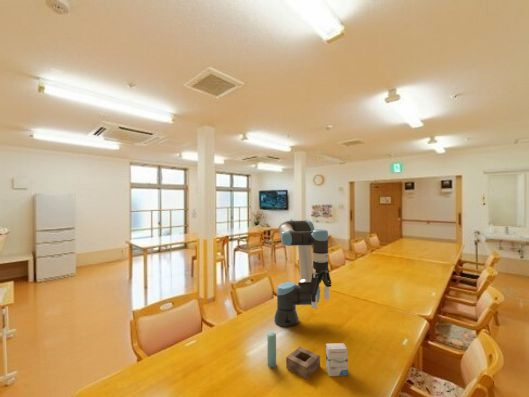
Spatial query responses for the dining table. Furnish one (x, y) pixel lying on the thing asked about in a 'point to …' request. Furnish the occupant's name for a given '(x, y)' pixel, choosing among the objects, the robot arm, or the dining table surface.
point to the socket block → (303, 362)
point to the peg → (271, 349)
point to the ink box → (337, 359)
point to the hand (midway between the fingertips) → (320, 303)
